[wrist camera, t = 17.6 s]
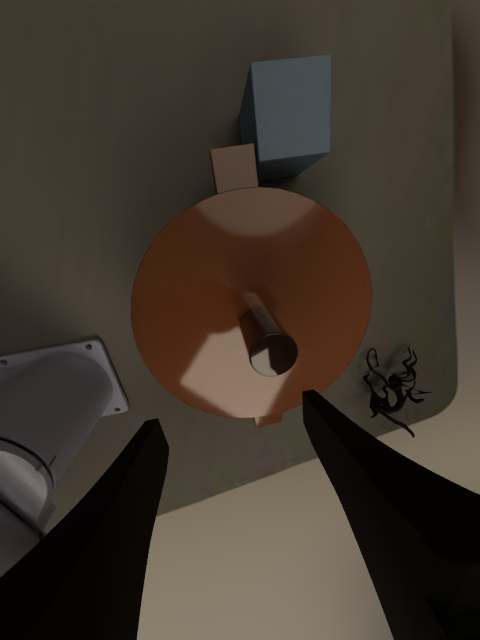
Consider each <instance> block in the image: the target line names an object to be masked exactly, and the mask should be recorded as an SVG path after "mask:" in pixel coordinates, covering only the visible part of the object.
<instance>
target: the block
mask: <svg viewBox="0 0 480 640" xmlns="http://www.w3.org/2000/svg"><path fill="white" fill-rule="evenodd" d="M330 91H331V54H324V55H315V56H305V57H296V58H286V59H277V60H267V61H257V62H251V63H250V67H249V72H248V76H247V81H246V85H245V90H244V94H243V99H242V103H241V108H240V112H239V124H240V133H241V142H242V144H248V143H254V147H255V156H256V166H257V176H258V181H261V180H268V179H275V178H282V177H290V176H297V175H298V174H300V173H301V172H303V171H304V170H305V169H307V168H308V167H310V166H311V165H312V164H314V163H315V162H317V161H318V160H319V159H321V158H322V157H324V156H325V155H326V154H328V153H329V152H330Z"/></svg>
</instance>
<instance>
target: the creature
mask: <svg viewBox="0 0 480 640" xmlns="http://www.w3.org/2000/svg"><path fill="white" fill-rule="evenodd" d="M373 349H374V348H372V349H370V350H369V351H368V353H367V357H366V360H367V364H368V366H369V368H370V371H372V372H373V373H374V374H376V375H377V376H379V377H380V378H382V379H383V381H384V382H385V384H386V385H387V386H385V387H383V391H384V392H385V393H386V397H385V398H381V397H379V396H378V395H377V393H376V392H374V390H373V388H372V386H371V383H370V382H369V381H368V380H367V377H368V376H369V374H368V375H366V376H365V377H364V380H365V382H366V383H367V384H368V385H369V387H370V388H371V398H370V408H371V410H372V412H373V413H374V415H373V416H372V417H370V418H373V417H375V416H376V415H377V414H378V413H380V414H382V415H383V416H385V417H386V418H388V419H389V420H391V421H392V422H394V423H395V424H398V425H399V426H401V427H403V428H404V429H406V430H407V431H408V432H409V433H410V434H411V435H412V436H413V437H415V435H414V433H413V432H412V431H411V430H410V429H409V428H408V427H407V426H406V425H405V424H403V423H401V422H399V421H397V420H395V419H393V418H392V417H390V416H389V415H387V414H386V413H388V414H391V413H394V412H397V411H399V410H401V408H402V407H403V405H404V403H405V401H406V398H407V396H408V397H409V398H410V400H412V401H413V402H415V403H420V402H422V401H424V399H417V400H416V399H414V398H413V397H412V395H411V391H412V390H413V388H414V386H415V381H414V386H413V387H411V388H410V387H409V388H410V389H408V390H405V391H406V392H407V394H406V395H405V397H404V396H403V394H402V390H401V387H402V386H406V385H404V384H402V382H410V381H413V380H415V378H416V372H415V370H414V369H413V368H412V366H414V365H415V364H416V362H417V358H416V355H415V353H414V351H413V355H414V356H415V358H416V360H415V361H414V362H413V363H411V364H410V365H409V367H408V365H407V364H406V363H407V362H408V361H410V360H411V358H412V356H411V352H410V348H409V347H408V350H409V353H410V357H409V358H408V359H406V360H404V361H403V362H402V364H403V365H404V366H405V367H406V369H407V371H408V372H406V373H408V374H407V376H406V377H408V376H410V373H412V374H413V377H414V378H413V379H412V380H410V381H407V380H403V379H400V378H402V377H398V376H397V375H404V374H406V373H403V374H393V375H392V376H390V377H389V378H388V382H389V384H390V385H389V384H388V382H387V380H386V379H385V378H384V376H382V375H381V374H379V373H378V372H376V371H375V370H374V369H373V368H374V367H373V368H372V366H371V364H370V363H369V361H368V357H369V352H370V351H371V350H373ZM374 350H375V349H374ZM375 351H376V350H375ZM376 360H377V353H376ZM376 367H380V366H379V363H378V361H377V366H376ZM410 370H411V371H410ZM370 371H369V373H370ZM406 377H403V378H406ZM387 387H389V388H390V389H391V390H393V391H394V392H395V394H396V396H397V403H396V404H395V406H394V407H391V406H390V404H389V401H388V392H387V391H386V388H387ZM407 387H408V386H407ZM415 390H416V389H415ZM417 391H418V390H417ZM419 392H420V393H417V394H423V393H432V392H422V391H419ZM380 404H382V405H383V406H382V405H380ZM384 411H385V412H386V413H385V412H384Z"/></svg>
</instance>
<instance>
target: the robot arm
mask: <svg viewBox="0 0 480 640" xmlns="http://www.w3.org/2000/svg"><path fill="white" fill-rule="evenodd" d="M88 344H90V345H91V346H92V347H89V346H88ZM4 360H6V361H7V362H5V361H4ZM302 403H303V422H304V425H305V428H306V430H307V433H308V436H309V438H310V441H311V443H312V445H313V447H314V449H315V451H316V453H317V455H318V457H319V459H320V461H321V463H322V465H323V467H324V469H325V471H326V473H327V475H328V477H329V479H330V481H331V483H332V485H333V487H334V489H335V491H336V493H337V495H338V497H339V500H340V502H341V504H342V506H343V509H344V511H345V514H346V516H347V519H348V521H349V523H350V526H351V528H352V531H353V533H354V536H355V538H356V541H357V543H358V545H359V548H360V551H361V553H362V556H363V558H364V561H365V563H366V566H367V569H368V571H369V574H370V577H371V579H372V582H373V584H374V587H375V590H376V592H377V595H378V598H379V600H380V603H381V606H382V608H383V611H384V614H385V616H386V619H387V622H388V624H389V627H390V630H391V633H392V635H393V638H394V640H480V495H479V494H477V493H474V492H472V491H470V490H468V489H466V488H464V487H462V486H460V485H458V484H456V483H453V482H451V481H450V480H448V479H445V478H444V477H442V476H440V475H438V474H436V473H434V472H432V471H430V470H428V469H426V468H425V467H423V466H421V465H419V464H417V463H416V462H414V461H412V460H410V459H408V458H406V457H405V456H403V455H402V454H400V453H398V452H397V451H395V450H393V449H392V448H390V447H389V446H387V445H385V444H384V443H382V442H381V441H379V440H378V439H376V438H375V437H373V436H372V435H370V434H369V433H368V432H366V431H365V430H364V429H362V428H361V427H359V426H358V425H357V424H355V423H354V422H353V421H351V420H350V419H349V418H348V417H346V416H345V415H344V414H343V413H341V412H340V411H339V410H338V409H336V408H335V407H334V406H333V405H332V404H331V403H329V402H328V401H327V400H326V399H325V398H324V397H322V396H321V395H320V394H319V393H318V392H317V391H315V390H314V389H312V390H307V391H302ZM118 408H120V409H118ZM128 409H129V404H128V402H127V399H126V397H125V395H124V392H123V390H122V388H121V385H120V383H119V380H118V378H117V376H116V373H115V371H114V369H113V366H112V364H111V362H110V359H109V357H108V355H107V352H106V350H105V348H104V345H103V343H102V342H101V341H100V340H99V339H91V340H85V341H80V342H74V343H69V344H63V345H58V346H52V347H47V348H41V349H36V350H30V351H25V352H19V353H14V354H8V355H3V356H0V640H137V631H138V623H139V616H140V607H141V601H142V593H143V586H144V579H145V572H146V565H147V559H148V553H149V547H150V541H151V536H152V531H153V527H154V522H155V518H156V514H157V510H158V506H159V502H160V497H161V493H162V489H163V485H164V480H165V476H166V471H167V464H168V455H169V446H168V443H167V441H166V438H165V435H164V433H163V430H162V427H161V425H160V422H159V419H153V420H147V421H145V422H144V424H143V425H142V426H141V427H140V429H139V430H138V431H137V433H136V434H135V435H134V437H133V438H132V439H131V440H130V442H129V443H128V444H127V446H126V447H125V448H124V450H123V451H122V452H121V453H120V455H119V456H118V457H117V458H116V460H115V461H114V462H113V463H112V465H111V466H110V467H109V468H108V469H107V471H106V472H105V473H104V474H103V475H102V477H101V478H100V479H99V480H98V481H97V482H96V484H95V485H94V486H93V487H92V488H91V489H90V491H89V492H88V493H87V494H86V495H85V496H84V497H83V498H82V499H81V500H80V502H79V503H78V504H77V505H76V506H75V507H74V508H73V509H72V510H71V511H70V512H69V513H68V514H67V515H66V516H65V517H64V518H63V519H62V520H61V521H60V522H59V523H58V524H57V525H56V526H55V527H54V528H53V529H52V530H51V531H50V532H49V533H48V534H46V533H45V532H44V531H43V530H44V528H45V526H46V525H47V523H48V521H49V519H50V518H51V516H52V514H53V512H54V511H55V509H56V507H55V506H54V505H53V503H52V501H51V496H52V494H53V493H54V491H55V489H56V488H57V486H58V485H59V483H60V481H61V480H62V478H63V477H64V475H65V473H66V472H67V470H68V468H69V467H70V465H71V464H72V462H73V460H74V459H75V457H76V456H77V454H78V452H79V451H80V449H81V447H82V446H83V444H84V443H85V441H86V439H87V438H88V436H89V435H90V433H91V431H92V430H93V428H94V426H95V425H96V423H97V422H98V420H99V418H100V417H103V416H108V415H113V414H118V413H123V412H126V411H127V410H128Z"/></svg>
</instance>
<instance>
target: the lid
mask: <svg viewBox="0 0 480 640" xmlns="http://www.w3.org/2000/svg"><path fill="white" fill-rule="evenodd" d="M371 304H372V287H371V279H370V273H369V269H368V265H367V262H366V259H365V256H364V254H363V252H362V249H361V247H360V245H359V243H358V242H357V240H356V239H355V237H354V235H353V234H352V232H351V231H350V230H349V229H348V227H347V226H346V225H345V224H344V223H343V222H342V220H341V219H340V218H338V217H337V216H336V215H335V214H334V213H333V212H331V211H330V210H329V209H328V208H326V207H325V206H323V205H321V204H320V203H318V202H316V201H315V200H313V199H311V198H309V197H306V196H304V195H301V194H299V193H296V192H292V191H288V190H284V189H280V188H271V187H247V188H238V189H234V190H229V191H225V192H221V193H218V194H216V195H213V196H211V197H208V198H205V199H203V200H201V201H199V202H198V203H196V204H194V205H193V206H191V207H189V208H187V209H186V210H184V211H183V212H182V213H181V214H179V215H178V216H177V217H176V218H174V219H173V220H172V221H171V222H170V223H169V224H168V225H167V226H166V227H165V228H164V229H163V230H162V231H161V232H160V233H159V234H158V236H157V237H156V238H155V240H154V241H153V243H152V244H151V246H150V247H149V249H148V250H147V252H146V254H145V256H144V258H143V260H142V262H141V264H140V266H139V269H138V272H137V275H136V278H135V281H134V286H133V292H132V298H131V320H132V328H133V333H134V337H135V340H136V344H137V347H138V350H139V352H140V354H141V356H142V358H143V361H144V362H145V364H146V365H147V367H148V369H149V370H150V372H151V373H152V374H153V376H154V377H155V378H156V379H157V380H158V382H159V383H160V384H161V385H162V386H163V387H164V388H165V389H167V390H168V391H169V392H170V393H171V394H173V395H174V396H175V397H177V398H178V399H180V400H181V401H183V402H185V403H186V404H188V405H190V406H192V407H194V408H196V409H199V410H201V411H204V412H207V413H211V414H214V415H218V416H224V417H231V418H257V417H263V416H269V415H273V414H277V413H281V412H284V411H287V410H289V409H292V408H295V407H297V406H299V405H301V404H303V403H302V391H307V390H312V389H314V390H315V391H317V392H318V393H321V392H322V391H323V390H325V389H326V388H327V387H328V386H329V385H331V384H332V383H333V382H334V381H335V380H336V379H337V378H338V377H339V376H340V374H341V373H342V372H343V371H344V370H345V369H346V367H347V366H348V365H349V363H350V362H351V360H352V359H353V357H354V356H355V354H356V352H357V350H358V348H359V347H360V345H361V342H362V340H363V337H364V335H365V332H366V329H367V325H368V322H369V318H370V311H371Z"/></svg>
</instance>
